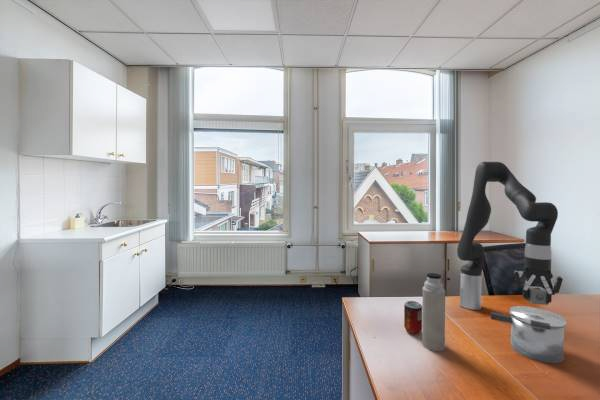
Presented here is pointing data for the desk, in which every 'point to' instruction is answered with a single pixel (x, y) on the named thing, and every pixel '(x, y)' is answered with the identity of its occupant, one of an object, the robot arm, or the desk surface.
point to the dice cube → (537, 295)
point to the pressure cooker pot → (534, 340)
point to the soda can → (413, 317)
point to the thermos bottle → (433, 313)
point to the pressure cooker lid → (538, 317)
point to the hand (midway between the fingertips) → (536, 301)
